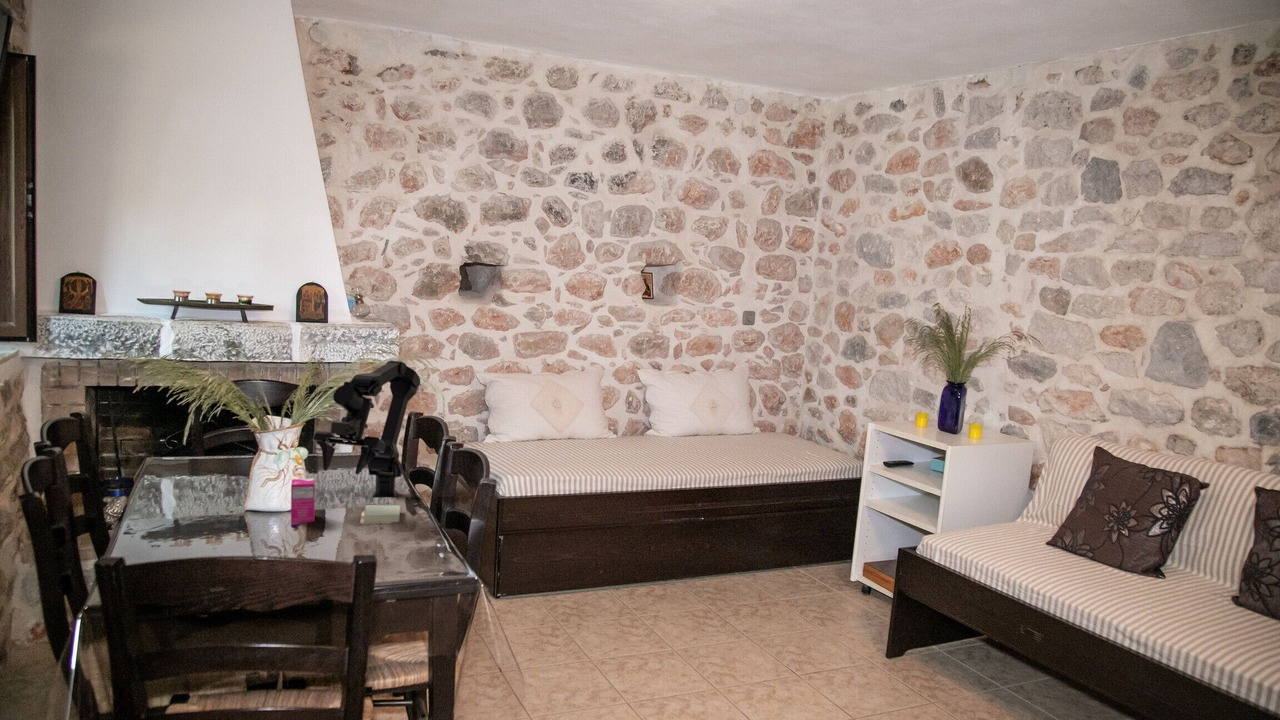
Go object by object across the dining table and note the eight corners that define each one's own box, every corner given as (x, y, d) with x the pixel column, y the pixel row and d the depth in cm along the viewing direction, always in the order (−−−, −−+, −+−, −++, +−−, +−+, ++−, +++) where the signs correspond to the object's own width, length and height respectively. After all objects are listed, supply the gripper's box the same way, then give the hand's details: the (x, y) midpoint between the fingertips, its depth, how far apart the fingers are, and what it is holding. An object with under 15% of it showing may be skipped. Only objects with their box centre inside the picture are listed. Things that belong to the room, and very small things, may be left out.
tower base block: (361, 518, 228) (362, 511, 228) (403, 518, 231) (403, 511, 231) (359, 530, 217) (359, 523, 217) (403, 530, 220) (403, 523, 220)
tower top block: (365, 512, 227) (365, 505, 227) (399, 512, 230) (400, 505, 229) (363, 522, 218) (363, 514, 218) (399, 522, 221) (399, 514, 221)
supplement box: (290, 520, 220) (292, 478, 219) (314, 519, 222) (316, 478, 221) (289, 527, 214) (291, 484, 213) (314, 526, 216) (315, 483, 215)
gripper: (311, 404, 223) (294, 459, 217) (376, 410, 220) (360, 467, 214) (330, 418, 233) (314, 471, 227) (392, 424, 230) (377, 479, 224)
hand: (340, 472), depth 223 cm, fingers open, 9 cm apart
